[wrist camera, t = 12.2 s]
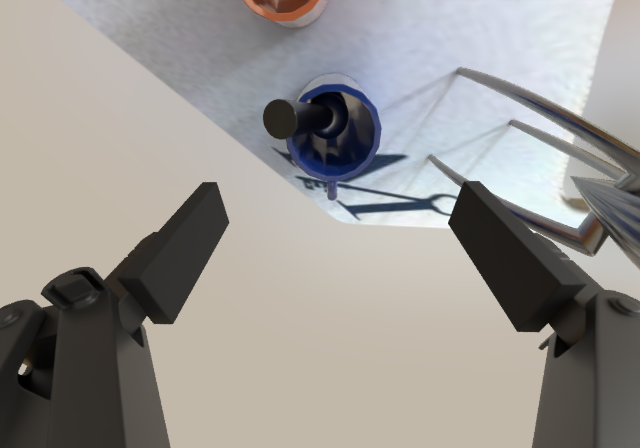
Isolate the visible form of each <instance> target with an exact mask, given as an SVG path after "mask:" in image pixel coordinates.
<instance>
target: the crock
mask: <svg viewBox="0 0 640 448" xmlns="http://www.w3.org/2000/svg"><path fill="white" fill-rule="evenodd" d="M243 1H244V2H245V3H246V4H247V5H248V7H249V8H250V9H251V10H252V11H253V12H255V13H257V14H259V15H261V16H263V17H265V18H267V19H269V20H271V21H273V22H276V23H278V24H281V25H283V26H286V27H303V26H306V25H308V24H310V23H311V22H313V21H314V20H315V19H317V18H318V17H319V15H320V14H321V13H322V12H323V10H324V9H325V7H326V5H327V3H328V1H329V0H243Z"/></svg>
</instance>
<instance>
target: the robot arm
mask: <svg viewBox="0 0 640 448" xmlns="http://www.w3.org/2000/svg"><path fill="white" fill-rule="evenodd" d="M228 224H229V220H228V217H227V214H226V211H225V207H224V204H223V201H222V198H221V195H220V191H219V189H218V185H217V182H203V183H202V184H201V185H200V186H199V187H198V188H197V189H196V190H195V191H194V193H193V194H192V195H191V196H190V197H189V198H188V199H187V200H186V201H185V203H184V204H183V205H182V206H181V207H180V208H179V209H178V210H177V212H176V213H175V214H174V215H173V216H172V217H171V218H170V219H169V220H168V221H167V223H166V224H165V225H164V226H163V227H162V228H161V229H160V230H159V231H158V232H153V233H152V234H150V235H149V236H147V237H145V238H144V239H143V240H142V241H141V242H140V243H139V244H138V245H137V246H136V247H135V249H134V250H132V251H131V252H130V253H129V254H128V257H126V258H124V260H123V261H122V262H121V263H120V264H119V265H118V266H117V267H116V268H115V269H114V270H113V271H112V272H111V273H110V274H109V275H108V276H107V278H106V279H105V280H103V279H102V278H101V277H100V276H99V274H98V273H97V272H96V271H95V270H94V269H93V268H90V267H80V268H76V269H73V270H70V271H67V272H65V273H63V274H61V275H59V276H58V277H56V278H54V279H53V280H51V281H50V282H49V283H48V284H47V285H46V286H45V287H44V288H43V290H42V292H41V295H42V296H44V297H45V298H46V299H47V300H48V301H50V302H51V303H52V304H53V305H52V306H48V307H43V308H42V307H40V306H39V305H37V303H35V302H34V301H32V300H21V301H17V302H14V303H11V304H9V305H6V306H4V307H2V308H0V448H170V443H169V439H168V434H167V429H166V424H165V420H164V415H163V410H162V406H161V401H160V397H159V391H158V387H157V382H156V377H155V373H154V368H153V364H152V358H151V354H150V349H149V345H148V340H147V335H146V330H145V328H144V326H143V325H142V322H143V321H144V319H145V318H146V316H148V317H149V318H150V320H151V321H152V322H153V323H154V324H173V323H174V321H175V320H176V318H177V316H178V314H179V312H180V311H181V309H182V307H183V305H184V303H185V301H186V300H187V298H188V296H189V294H190V293H191V291H192V289H193V287H194V285H195V283H196V282H197V280H198V278H199V276H200V275H201V273H202V271H203V269H204V267H205V266H206V264H207V262H208V260H209V258H210V257H211V255H212V253H213V251H214V249H215V248H216V246H217V244H218V242H219V240H220V239H221V237H222V235H223V233H224V231H225V229H226V228H227V226H228ZM448 224H449V226H450V227H451V229H452V230H453V232H454V234H455V235H456V237H457V238H458V240H459V241H460V243H461V245H462V246H463V248H464V249H465V251H466V252H467V254H468V255H469V257H470V258H471V260H472V262H473V263H474V265H475V266H476V268H477V270H478V271H479V273H480V274H481V276H482V277H483V279H484V280H485V282H486V284H487V285H488V287H489V288H490V290H491V291H492V293H493V294H494V296H495V298H496V299H497V301H498V302H499V304H500V305H501V307H502V309H503V310H504V312H505V313H506V315H507V316H508V318H509V319H510V321H511V323H512V324H513V326H514V327H515V329H516V330H517V332H540V331H541V329H542V328H544V327H545V326H546V325H547V324H548V323H549V324H550V326H551V327H552V328H553V329H554V331H555V332H554V333H553V334H552V335H550V336H549V337H548V338H547V339H546V340H545V341H544V342H543V343H542V344H541V345H540V347H539V349H541V350H543V349H544V348H545V347H546V346H548V352H547V358H546V364H545V370H544V377H543V383H542V389H541V395H540V401H539V408H538V414H537V420H536V427H535V432H534V438H533V445H532V448H640V301H638V300H636V299H634V298H632V297H630V296H628V295H626V294H623V293H619V292H616V291H611V290H604V289H603V288H602V287H601V286H600V285H599V284H598V283H597V282H595V281H594V280H593V279H592V278H591V277H590V276H589V275H588V274H587V273H586V272H584V271H583V270H582V269H581V268H580V267H579V266H578V265H577V264H576V263H575V262H573V261H572V260H570V258H569V257H568V256H567V255H566V254H565V253H562V252H561V250H560V249H559V248H558V247H557V246H556V245H555V244H554V243H553V242H551V241H550V240H548V239H546V238H545V237H543V236H541V235H539V234H538V233H533V232H532V231H531V230H530V229H529V228H528V227H527V226H526V225H525V224H524V223H523V222H521V221H520V220H519V219H518V218H517V217H516V216H515V215H514V214H513V213H512V212H511V211H510V210H509V209H508V208H507V207H506V206H505V205H504V204H503V203H501V202H500V201H499V200H498V199H497V198H496V197H495V196H494V195H493V194H492V193H491V192H490V191H489V190H488V189H487V188H486V187H485V186H484V185H483V184H481V183H480V182H479V181H464V182H463V185H462V188H461V190H460V193H459V195H458V198H457V201H456V203H455V206H454V209H453V211H452V214H451V217H450V219H449V222H448ZM22 363H23V364H25V365H27V368H26V370H25V372H24V373H23V375H20V374H18V371H19V369H20V367H21V365H22Z"/></svg>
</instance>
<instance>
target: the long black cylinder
mask: <svg viewBox="0 0 640 448" xmlns="http://www.w3.org/2000/svg"><path fill="white" fill-rule="evenodd" d="M348 119H349V113H348V108H347V105H346V104H345V102H344V101H343V100H342V99H341V98H340V97H339V96H337V95H335V94H332V93H324V94H321V95H318V96H317V97H315V98H314V99H313V100H312V102H311V103H304V102H297V101H289V100H281V99H277V100H273V101H271V102H270V103H269V104H268V105H267V106H266V108H265V110H264V114H263V122H264V126H265V128H266V130H267V131H268V133H269V134H270V135H271V136H273V137H274V138H277V139H287V138H291V137H295V136H299V135H303V134H306V133H310V132H313V133H314V134H315V135H316V136H318V137H320V138H322V139H332V138H335V137H337V136H339V135H340V134H341V133H342V132H343V131H344V130H345V128H346V126H347V124H348Z"/></svg>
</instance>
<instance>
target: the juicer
mask: <svg viewBox="0 0 640 448" xmlns="http://www.w3.org/2000/svg"><path fill="white" fill-rule="evenodd" d="M457 74H458V75H461V76H463V77H466V78H468V79H471V80H473V81H475V82H478V83H480V84H482V85H484V86H487V87H489V88H491V89H493V90H495V91H497V92H499V93H501V94H503V95H505V96H507V97H509V98H511V99H513V100H515V101H517V102H519V103H520V104H522V105H524V106H526V107H528V108H530V109H531V110H533V111H535V112H537V113H539V114H540V115H542V116H544V117H545V118H547V119H549V120H551V121H552V122H554V123H556V124H557V125H559V126H561V127H562V128H564V129H565V130H567V131H569V132H570V133H572V134H573V135H575V136H576V137H578V138H580V139H581V140H583V141H584V142H586V143H587V144H589V145H590V146H592V147H593V148H595V149H596V150H598V151H599V152H601V153H602V154H603V155H605V156H607V157H608V158H609V159H610V160H612V161H613V162H615V163H616V164H618V165H619V166H620V167H622V168H623V169H624V170H626V171H627V172H624V171H623V170H621V169H619V168H617V167H615V166H613V165H611V164H610V163H608V162H606V161H603V160H602V159H600V158H598V157H596V156H594V155H592V154H591V153H589V152H587V151H585V150H582V149H580V148H579V147H576V146H574V145H572V144H570V143H568V142H566V141H564V140H562V139H560V138H558V137H555V136H553V135H551V134H549V133H546V132H544V131H542V130H539V129H537V128H534V127H532V126H530V125H527V124H525V123H522V122H520V121H517V120H512V121H511V122H510V125H512V126H514V127H516V128H518V129H520V130H521V131H523V132H525V133H527V134H529V135H531V136H533V137H535V138H537V139H539V140H541V141H542V142H544V143H546V144H548V145H550V146H552V147H554V148H556V149H557V150H559V151H561V152H563V153H565V154H567V155H569V156H571V157H573V158H574V159H576V160H578V161H580V162H582V163H584V164H585V165H587V166H589V167H591V168H593V169H594V170H596V171H598V172H600V173H601V174H603V175H605V176H607V177H609V178H610V179H612V180H614V181H611V180H602V179H593V178H585V177H574V176H570V177H571V178H572V180H573V182H574V184H575V186H576V187H577V189H578V191H579V192H580V194H581V196H582V197H583V199H584V201H585V202H586V204H587V205H588V207H589V208H590V210H591V212H590V213H589V214H588V216H587V217H586V218H585V220H584V221H583V222H582V223H581V225H580V226H579V227H578V228H577V229H576V228H572V227H569V226H567V225H564V224H561V223H559V222H556V221H553V220H551V219H548V218H546V217H543V216H541V215H538V214H536V213H533V212H531V211H529V210H526V209H524V208H522V207H520V206H517V205H515V204H513V203H511V202H509V201H507V200H504V199H502V198H500V197H498V196H496V195H494V194H493V195H494V196H495V197H496V198H497V199H498V200H499V201H500V202H501V203H503V204H504V205H505V206H506V207H507V208H508V209H509V210H510V211H511V212H512V213H513V214H514V215H515V216H516V217H517V218H518V219H519V220H520V221H521V222H523V223H524V224H525V225H526V226H527V227H528V228H530V229H532V230H534V231H536V232H538V233H540V234H542V235H544V236H546V237H548V238H550V239H552V240H554V241H557V242H559V243H561V244H563V245H565V246H567V247H569V248H572V249H574V250H576V251H578V252H580V253H582V254H585V255H587V256H590V257H593V256H595V255H596V254H597V252H598V251H599V249H600V248H601V246H602V245H603V243H604V242H605V240H606V239H607V237H608V236H610V237H611V238H612V239H613V241H614V242H615V243H616V244H617V245H618V247H620V249H621V250H622V251H623V252H624V254H625V255H626V256H627V257H628V258H629V259H630V260H631V261H632V262H633V263H634V264H635V265H636V266H637V267H638V268H639V269H640V151H639V150H637V149H635V148H634V147H632V146H630V145H629V144H627V143H625V142H624V141H622V140H620V139H618V138H617V137H615V136H613V135H612V134H610V133H608V132H607V131H605V130H603V129H601V128H600V127H598V126H596V125H594V124H593V123H591V122H589V121H587V120H585V119H583V118H582V117H580V116H578V115H576V114H575V113H573V112H571V111H569V110H567V109H565V108H563V107H561V106H559V105H558V104H556V103H554V102H552V101H550V100H548V99H546V98H544V97H542V96H540V95H537V94H535V93H533V92H531V91H529V90H527V89H524V88H522V87H520V86H517V85H515V84H513V83H510V82H508V81H505V80H502V79H500V78H497V77H494V76H491V75H488V74H485V73H482V72H478V71H475V70H471V69H467V68H462V67H460V68H458V69H457ZM428 159H429V160H430V161H431V162H432V163H433V164H434V165H435V166H436V167H437V168H438V169H439V170H440V171H441V172H442V173H444V174H445V175H446V176H447V177H448V178H450V179H451V180H452V181H453V182H455V183H456V184H457V185H459V186H460V187H461V188H462V185H463V182H464V181H469V180H467V179H466V178H464V177H462V176H461V175H459V174H458V173H456V172H455V171H453V170H452V169H450V168H449V167H448V166H446V165H445V164H443V163H442V162H441V161H440V160H438V159H437V158H436V157H435V156H433V155H430V156H429V157H428Z"/></svg>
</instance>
